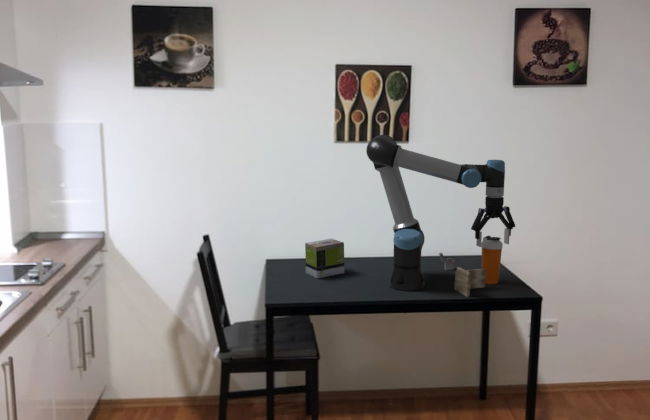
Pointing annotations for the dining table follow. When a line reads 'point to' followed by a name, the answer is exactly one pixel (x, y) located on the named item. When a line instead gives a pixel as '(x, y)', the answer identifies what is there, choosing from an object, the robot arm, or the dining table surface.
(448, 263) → the lighter
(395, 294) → the dining table surface
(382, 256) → the dining table surface
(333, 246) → the tea box
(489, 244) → the shaker bottle
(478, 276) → the bookend
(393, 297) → the dining table surface
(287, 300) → the dining table surface
